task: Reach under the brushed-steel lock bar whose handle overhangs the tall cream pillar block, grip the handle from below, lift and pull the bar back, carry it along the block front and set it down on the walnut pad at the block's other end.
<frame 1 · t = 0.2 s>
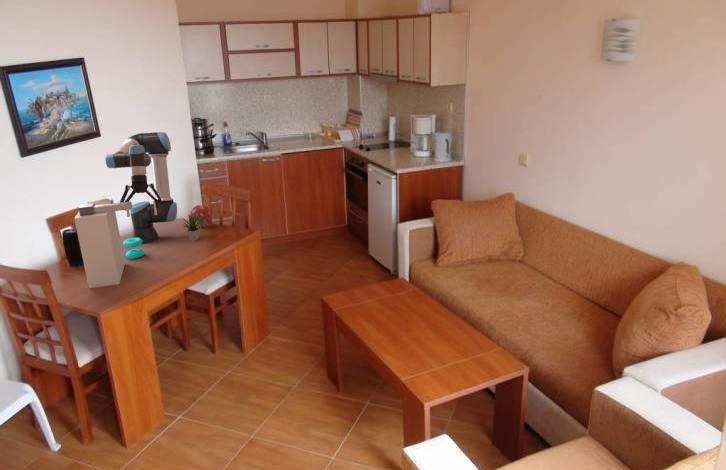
hand: (142, 216, 292), 28 cm above the table, tool tilted 20°, fingers open, 13 cm apart
decorative mushroom: (202, 227, 366), on the table
house plant: (196, 239, 343), on the table
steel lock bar: (108, 210, 276), point 36 cm above the table, touching tall cream pillar block
portable speaker: (77, 264, 310), on the table
donuts: (135, 256, 318), on the table
tall cream pillar block: (107, 275, 292), on the table
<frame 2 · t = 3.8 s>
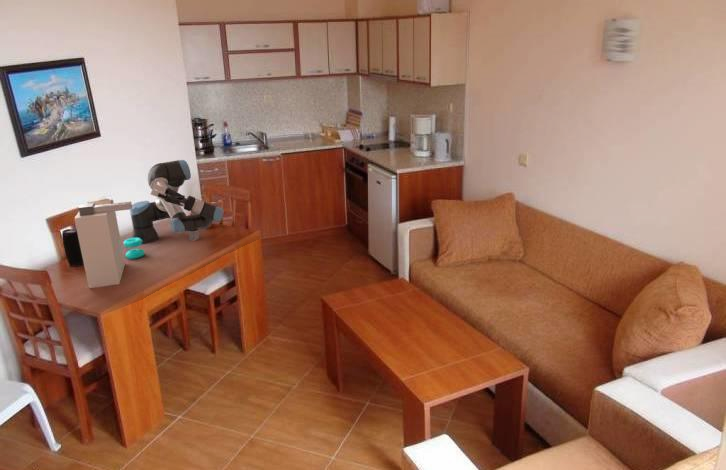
hand: (152, 188, 279), 45 cm above the table, tool pointing upward, fingers open, 13 cm apart
nothing on the table moved.
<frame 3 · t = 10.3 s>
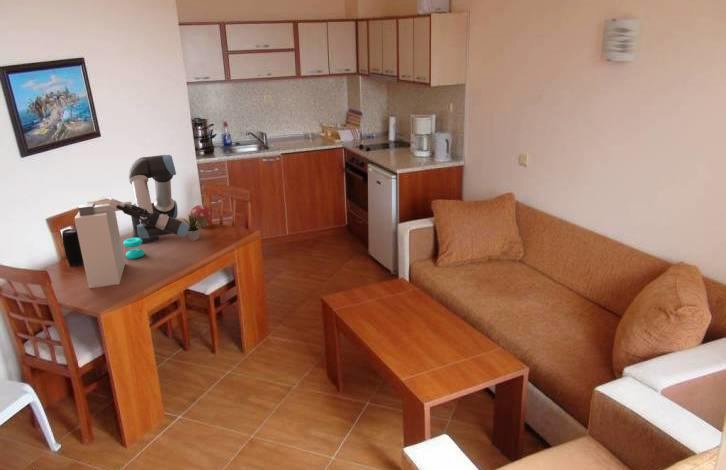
hand: (110, 202, 275), 40 cm above the table, tool pointing upward, fingers closed on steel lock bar, 4 cm apart
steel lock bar: (108, 210, 276), point 36 cm above the table, touching gripper, tall cream pillar block
everything else where it was.
when the fingers open (43 cm above the table, at t = 18.4 s): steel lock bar drops 2 cm, resting on tall cream pillar block.
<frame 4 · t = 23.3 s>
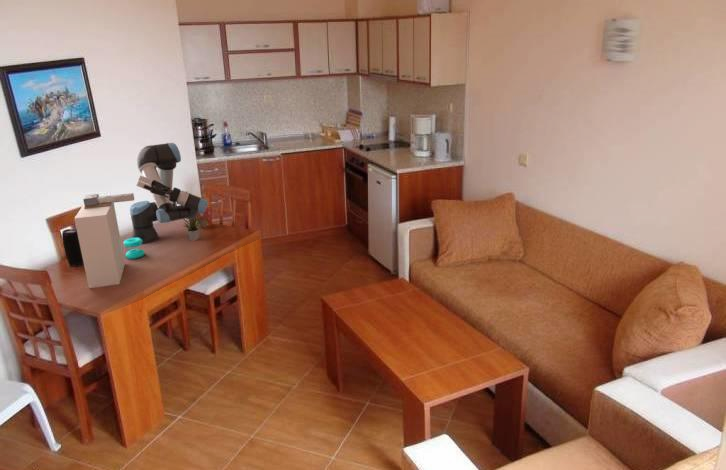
hand: (138, 180, 290), 47 cm above the table, tool pointing upward, fingers open, 13 cm apart
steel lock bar: (111, 201, 289), point 37 cm above the table, touching tall cream pillar block
everything else where it was.
at the end: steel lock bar inside the target area on the tall cream pillar block (0.1 cm from its centre), point 36.8 cm above the tall cream pillar block's base; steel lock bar tilted 0°; the gripper is holding nothing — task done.
